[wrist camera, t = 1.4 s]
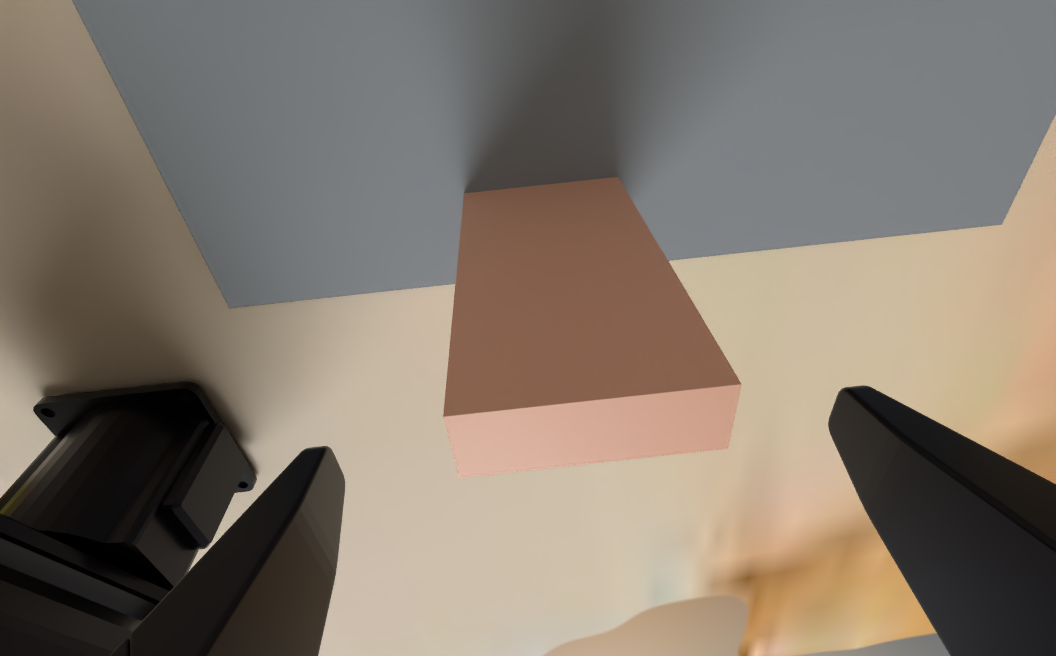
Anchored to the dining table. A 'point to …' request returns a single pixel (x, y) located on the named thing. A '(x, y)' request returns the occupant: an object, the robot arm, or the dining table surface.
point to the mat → (570, 121)
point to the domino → (575, 337)
